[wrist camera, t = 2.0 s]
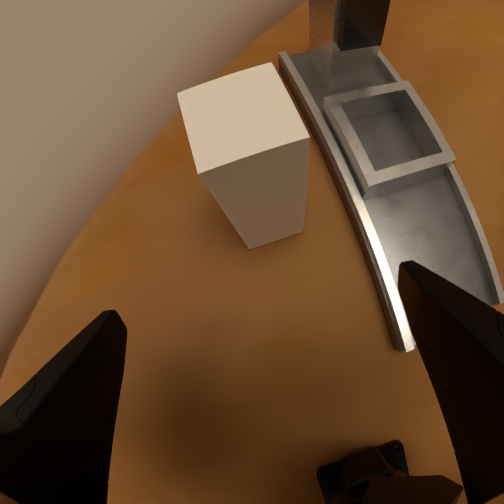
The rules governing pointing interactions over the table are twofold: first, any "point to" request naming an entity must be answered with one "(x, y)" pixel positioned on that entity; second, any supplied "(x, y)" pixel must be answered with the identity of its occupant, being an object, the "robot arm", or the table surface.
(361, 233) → the rail
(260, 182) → the white angular block
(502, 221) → the table surface
